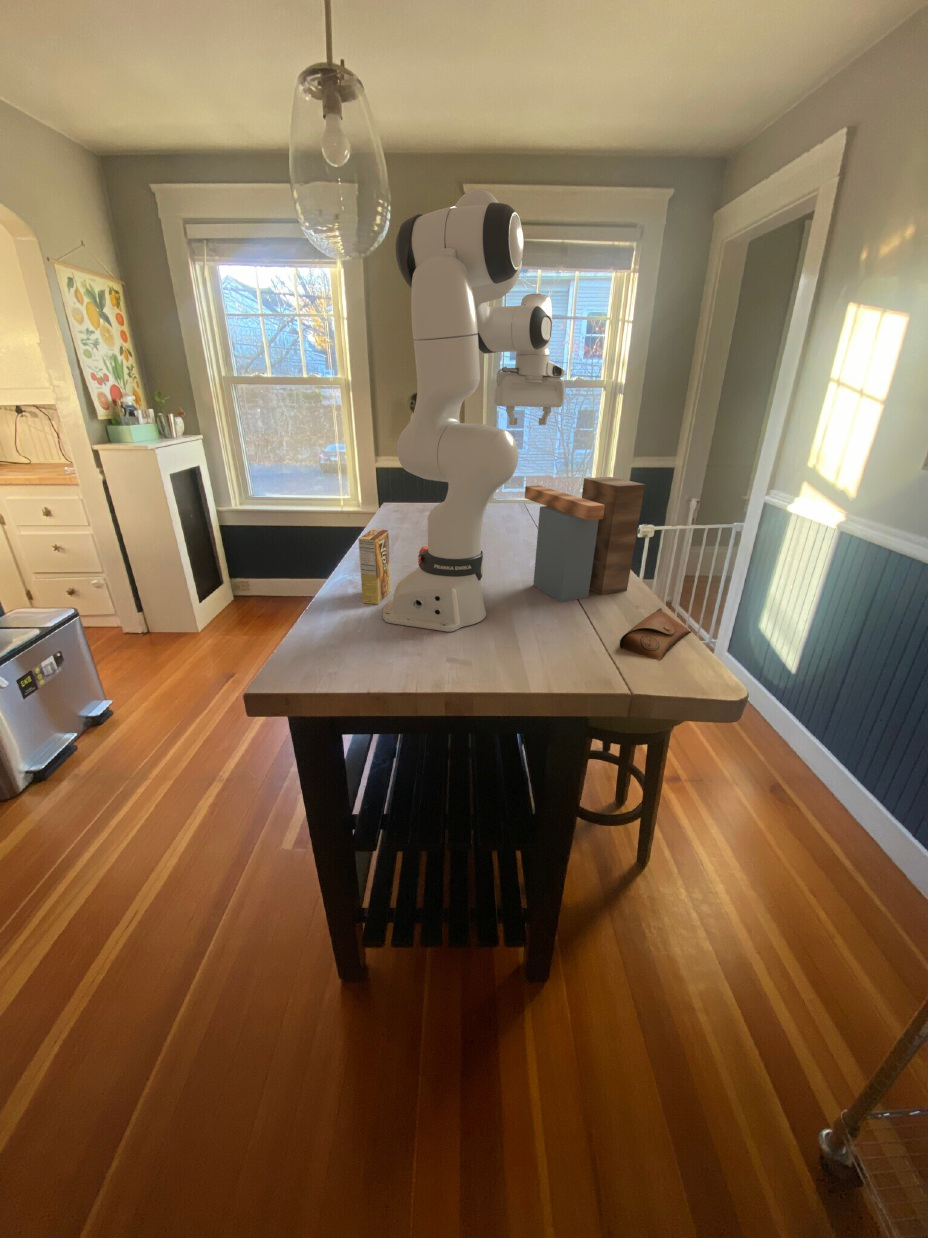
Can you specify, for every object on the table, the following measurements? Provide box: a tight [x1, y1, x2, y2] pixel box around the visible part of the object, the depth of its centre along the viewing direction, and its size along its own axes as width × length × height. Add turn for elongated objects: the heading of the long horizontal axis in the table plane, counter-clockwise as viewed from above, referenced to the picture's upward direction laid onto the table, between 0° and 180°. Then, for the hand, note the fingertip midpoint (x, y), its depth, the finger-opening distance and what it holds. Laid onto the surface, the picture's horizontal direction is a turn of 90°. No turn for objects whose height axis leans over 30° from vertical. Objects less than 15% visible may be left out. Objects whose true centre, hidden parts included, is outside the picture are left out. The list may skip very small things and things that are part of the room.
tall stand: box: [581, 476, 646, 596], centre depth 119 cm, size 12×8×26 cm, turn 25°
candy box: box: [358, 528, 391, 605], centre depth 111 cm, size 9×4×15 cm, turn 170°
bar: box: [524, 485, 605, 520], centre depth 113 cm, size 26×4×3 cm, turn 25°
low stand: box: [533, 505, 599, 603], centre depth 115 cm, size 12×8×20 cm, turn 25°
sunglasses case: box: [619, 607, 692, 661], centre depth 97 cm, size 18×7×7 cm, turn 140°
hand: (527, 424), depth 133 cm, fingers open, 8 cm apart
